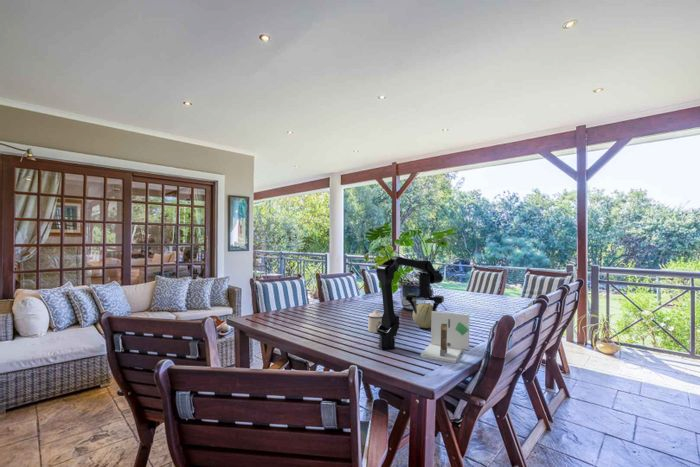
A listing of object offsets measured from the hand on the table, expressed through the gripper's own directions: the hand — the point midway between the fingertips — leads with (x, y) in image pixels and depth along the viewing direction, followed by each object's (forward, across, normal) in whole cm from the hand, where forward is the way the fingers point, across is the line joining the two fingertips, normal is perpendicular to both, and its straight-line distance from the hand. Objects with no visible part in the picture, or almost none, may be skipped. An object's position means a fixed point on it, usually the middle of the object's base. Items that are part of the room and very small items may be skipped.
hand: (424, 314), depth 178 cm
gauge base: (+13, -14, +17) cm, 25 cm away
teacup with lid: (+13, +29, -5) cm, 32 cm away
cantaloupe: (+14, +7, -25) cm, 30 cm away
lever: (+10, -14, +21) cm, 27 cm away
